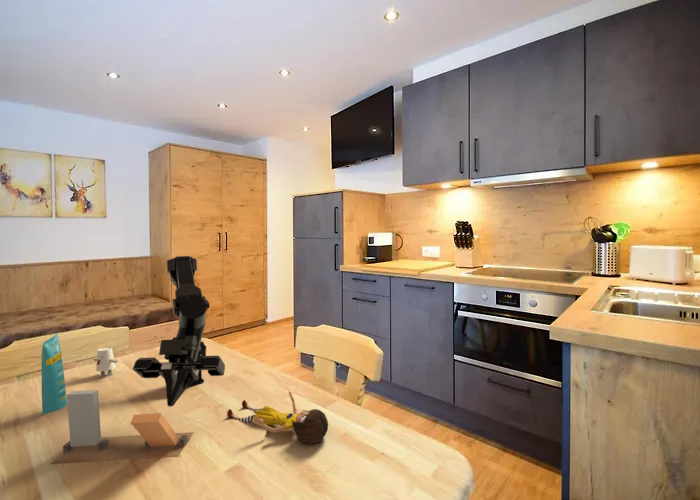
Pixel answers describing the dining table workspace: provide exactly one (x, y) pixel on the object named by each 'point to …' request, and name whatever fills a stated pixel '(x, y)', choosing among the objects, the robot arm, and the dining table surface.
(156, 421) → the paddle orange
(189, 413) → the dining table surface
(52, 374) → the tube
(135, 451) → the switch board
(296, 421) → the figurine
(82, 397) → the grey tall block
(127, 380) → the dining table surface
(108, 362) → the toy figure
